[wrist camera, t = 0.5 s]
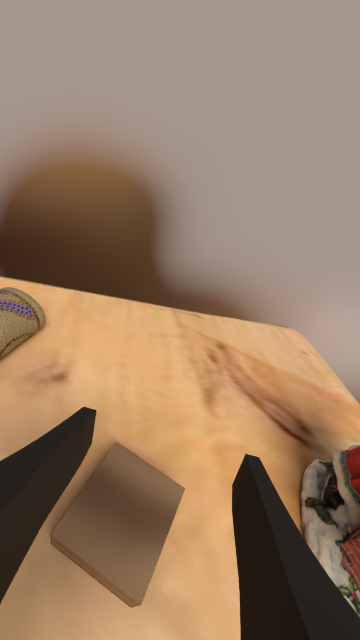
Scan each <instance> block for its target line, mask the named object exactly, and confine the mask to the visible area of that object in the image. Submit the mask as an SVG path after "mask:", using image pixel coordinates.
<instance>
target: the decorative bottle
mask: <svg viewBox="0 0 360 640" xmlns="http://www.w3.org/2000/svg"><path fill="white" fill-rule="evenodd" d="M45 323H46V317H45V313H44V311H43V309H42V308H41V307H40V305H39V303H37V302H36V300H34V299H33V298H32V297H31V296H30V295H28V294H27V293H25V292H23V291H21V290H18V289H15V288H10V287H7V288H2V289H0V358H2V357H3V356H5V355H6V354H8V353H9V352H10V351H11V350H13V349H14V348H15V347H16V346H18V345H19V344H20V343H22V342H23V341H24V340H25V339H27V338H28V337H29V336H30V335H32V334H33V333H35V332H37V331H39V330H40V329H41V328H43V327H44V325H45Z"/></svg>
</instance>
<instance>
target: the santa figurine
mask: <svg viewBox="0 0 360 640" xmlns="http://www.w3.org/2000/svg"><path fill="white" fill-rule="evenodd" d="M301 522H302V527H303V532H304V536H305V541H306V543H307V544H308V546H309V547H310V549H311V550H312V552H313V553H314V555H315V556H316V558H317V559H318V561H319V562H320V564H321V565H322V567H323V568H324V570H325V571H326V572H327V574H328V575H329V577H330V578H331V580H332V581H333V582H334V584H335V585H336V586H337V588H338V589H339V590H340V592H341V593H342V594H343V596H344V597H345V598H346V600H347V601H348V602H349V604H350V605H351V606H352V608H353V609H354V610H355V612H356V613H357V614H358V615H359V617H360V445H352V446H350V448H349V449H348V450H345V451H342V450H340V451H336V452H335V453H334V456H333V462H326V461H322V460H320V459H316V460H314V461H313V462H312V463H311V464H310V465H309V466H308V467H307V468H306V470H305V472H304V476H303V482H302V491H301ZM322 534H323V535H322Z"/></svg>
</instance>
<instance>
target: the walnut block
mask: <svg viewBox="0 0 360 640" xmlns="http://www.w3.org/2000/svg"><path fill="white" fill-rule="evenodd" d="M184 490H185V488H184V487H182V486H181V485H179V484H178V483H176V482H175V481H173V480H172V479H170V478H169V477H167V476H166V475H165V474H163V473H162V472H160V471H159V470H157V469H156V468H154V467H153V466H151V465H150V464H148V463H147V462H145V461H144V460H142V459H141V458H140V457H138V456H137V455H135V454H134V453H132V452H131V451H129V450H128V449H126V448H125V447H123V446H122V445H120V444H119V443H117V442H116V443H115V444H114V445H113V447H112V448H111V450H110V451H109V453H108V454H107V455H106V457H105V458H104V460H103V461H102V462H101V464H100V465H99V467H98V468H97V470H96V471H95V472H94V474H93V475H92V477H91V478H90V479H89V481H88V482H87V484H86V485H85V486H84V488H83V489H82V491H81V492H80V494H79V495H78V496H77V498H76V499H75V501H74V502H73V503H72V505H71V506H70V508H69V509H68V511H67V512H66V513H65V515H64V516H63V518H62V519H61V520H60V522H59V523H58V525H57V526H56V527H55V529H54V530H53V532H52V533H51V544H52V545H53V546H54V547H55V548H57V549H58V550H59V551H60V552H62V553H63V554H64V555H65V556H67V557H68V558H69V559H70V560H72V561H73V562H74V563H75V564H77V565H78V566H79V567H80V568H82V569H83V570H84V571H85V572H87V573H88V574H89V575H90V576H92V577H93V578H94V579H95V580H97V581H98V582H99V583H100V584H102V585H103V586H104V587H106V588H107V589H108V590H109V591H111V592H112V593H113V594H114V595H116V596H117V597H118V598H119V599H121V600H122V601H123V602H124V603H126V604H127V605H128V606H129V607H135V606H139V605H141V604H142V601H143V598H144V596H145V593H146V591H147V588H148V585H149V583H150V580H151V577H152V575H153V572H154V569H155V567H156V564H157V561H158V559H159V556H160V553H161V551H162V548H163V545H164V543H165V540H166V537H167V535H168V532H169V529H170V527H171V524H172V522H173V519H174V516H175V514H176V511H177V508H178V506H179V503H180V500H181V498H182V495H183V492H184Z"/></svg>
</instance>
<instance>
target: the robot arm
mask: <svg viewBox="0 0 360 640" xmlns="http://www.w3.org/2000/svg"><path fill="white" fill-rule="evenodd" d="M95 417H96V410H93V409H90V408H86V407H83V408H81V409H80V410H79V411H77V412H76V413H74V414H73V415H72V416H70V417H69V418H68V419H66V420H65V421H63V422H62V423H61V424H59V425H58V426H56V427H55V428H53V429H52V430H50V431H49V432H48V433H46V434H45V435H43V436H42V437H40V438H39V439H37V440H35V441H34V442H32V443H30V444H29V445H27V446H26V447H24V448H22V449H21V450H19V451H17V452H16V453H14V454H12V455H10V456H9V457H7V458H5V459H3V460H1V461H0V603H1V601H2V599H3V597H4V595H5V593H6V591H7V590H8V588H9V586H10V584H11V582H12V580H13V578H14V576H15V574H16V573H17V571H18V569H19V567H20V565H21V563H22V561H23V559H24V557H25V556H26V554H27V552H28V550H29V548H30V546H31V545H32V543H33V541H34V539H35V537H36V535H37V534H38V532H39V530H40V528H41V526H42V525H43V523H44V521H45V520H46V518H47V517H48V515H49V513H50V512H51V510H52V509H53V507H54V506H55V504H56V503H57V501H58V499H59V498H60V496H61V495H62V493H63V492H64V490H65V489H66V487H67V486H68V484H69V482H70V481H71V479H72V478H73V476H74V475H75V473H76V472H77V470H78V468H79V467H80V465H81V463H82V461H83V459H84V457H85V456H86V454H87V452H88V450H89V448H90V446H91V444H92V438H93V431H94V424H95ZM232 514H233V525H234V536H235V546H236V556H237V566H238V576H239V590H240V624H241V640H360V617H359V615H358V614H357V613H356V612H355V610H354V609H353V608H352V606H351V605H350V604H349V602H348V601H347V600H346V598H345V597H344V596H343V594H342V593H341V592H340V590H339V589H338V588H337V586H336V585H335V584H334V582H333V581H332V580H331V578H330V577H329V575H328V574H327V572H326V571H325V570H324V568H323V567H322V565H321V564H320V562H319V561H318V559H317V558H316V556H315V555H314V553H313V552H312V550H311V549H310V547H309V546H308V544H307V543H306V541H305V540H304V538H303V536H302V535H301V533H300V531H299V530H298V528H297V527H296V525H295V523H294V521H293V520H292V518H291V516H290V515H289V513H288V511H287V509H286V507H285V506H284V504H283V502H282V500H281V499H280V497H279V495H278V493H277V491H276V489H275V487H274V485H273V484H272V482H271V480H270V478H269V476H268V474H267V472H266V470H265V468H264V466H263V464H262V462H261V460H260V459H259V457H255V456H252V455H248V454H246V455H245V457H244V459H243V462H242V464H241V466H240V468H239V471H238V473H237V475H236V478H235V480H234V482H233V485H232Z"/></svg>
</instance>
